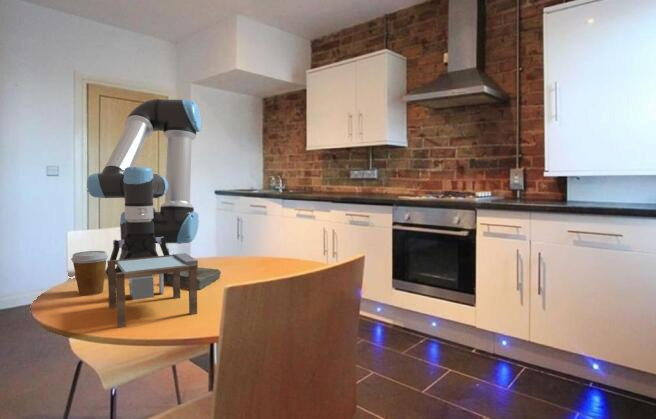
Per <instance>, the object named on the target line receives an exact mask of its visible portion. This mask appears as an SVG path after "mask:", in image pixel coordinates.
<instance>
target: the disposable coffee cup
mask: <svg viewBox="0 0 656 419" xmlns="http://www.w3.org/2000/svg"><path fill="white" fill-rule="evenodd" d="M108 258H109V255H108V253H107V252H106V251H105V250H88V251H86V250H85V251H80V252H79V251H78V252H75V253H72V256H71V259H70V260H71V262H72V263H73V268H74V274H75V280H76V284H77V290H78V294H79V296H94V295H99V294H102V293H103V292H104V286H105V285H104V284H105V276H106V269H107V267H106V265H107V261H108V260H107V259H108Z"/></svg>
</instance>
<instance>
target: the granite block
mask: <svg viewBox="0 0 656 419" xmlns="http://www.w3.org/2000/svg"><path fill="white" fill-rule="evenodd" d="M128 279H129V280H128V282H129V285H128V286H129V297H130V298H131V300H132V301H137V300H144V299H150V298H154V297H155V290H154V287H155V286H154V282H155V281H154V275H147V276H138V277H130V278H128Z"/></svg>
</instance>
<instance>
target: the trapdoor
mask: <svg viewBox="0 0 656 419" xmlns="http://www.w3.org/2000/svg"><path fill="white" fill-rule="evenodd" d="M173 254H174V256H169V257H159V258H148V259H138V260H128V261H117V264H118V267H119V268H120V269H121V271H122V272H124V273H127V272H136V271H145V270H154V269H162V268H171V267H180V266H188V265H192V264H195V265H197V269H198V268H199V263H198V259H196V258H195V257H192V256H191V255H189V254H188V253H186V252H185V253H184V252H183V253H173Z"/></svg>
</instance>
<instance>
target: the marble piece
mask: <svg viewBox="0 0 656 419" xmlns="http://www.w3.org/2000/svg"><path fill="white" fill-rule="evenodd" d="M221 273H222V272H221V270H220V269H218V268H207V267H198V269H197V291H200V290H203V289H205V288H207V287H208V286H210V285H212V284H214V283H215V282H217V281H219V280H220V279H221ZM218 279H219V280H218ZM216 280H217V281H216ZM211 283H212V284H211ZM165 284H167V285H169V286H172V287H173V272H172V273H167V281H166V282H165ZM206 286H207V287H206ZM180 288H183V289H187V288H188V290H189V271H180Z"/></svg>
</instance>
